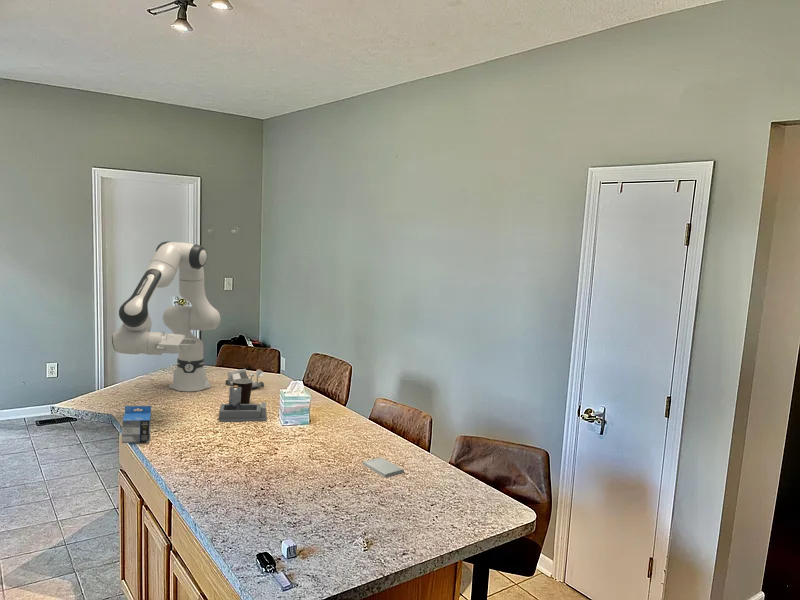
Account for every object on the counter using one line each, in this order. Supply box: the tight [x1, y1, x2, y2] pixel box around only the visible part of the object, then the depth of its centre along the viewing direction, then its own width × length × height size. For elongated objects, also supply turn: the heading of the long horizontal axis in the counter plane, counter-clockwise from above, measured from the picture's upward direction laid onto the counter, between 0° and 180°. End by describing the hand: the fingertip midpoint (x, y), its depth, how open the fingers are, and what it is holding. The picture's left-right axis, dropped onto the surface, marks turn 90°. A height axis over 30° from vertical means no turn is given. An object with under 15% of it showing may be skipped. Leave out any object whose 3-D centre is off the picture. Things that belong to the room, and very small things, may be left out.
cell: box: [228, 385, 241, 410], centre depth 235 cm, size 5×5×12 cm
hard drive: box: [362, 456, 405, 478], centre depth 194 cm, size 2×8×12 cm
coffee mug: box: [232, 378, 254, 404], centre depth 256 cm, size 12×9×10 cm
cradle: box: [218, 401, 267, 423], centre depth 236 cm, size 12×18×5 cm, turn 104°
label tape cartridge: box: [121, 405, 152, 444], centre depth 202 cm, size 9×4×12 cm, turn 105°
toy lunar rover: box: [224, 368, 265, 388], centre depth 281 cm, size 18×10×12 cm
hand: (194, 344), depth 228 cm, fingers open, 8 cm apart
